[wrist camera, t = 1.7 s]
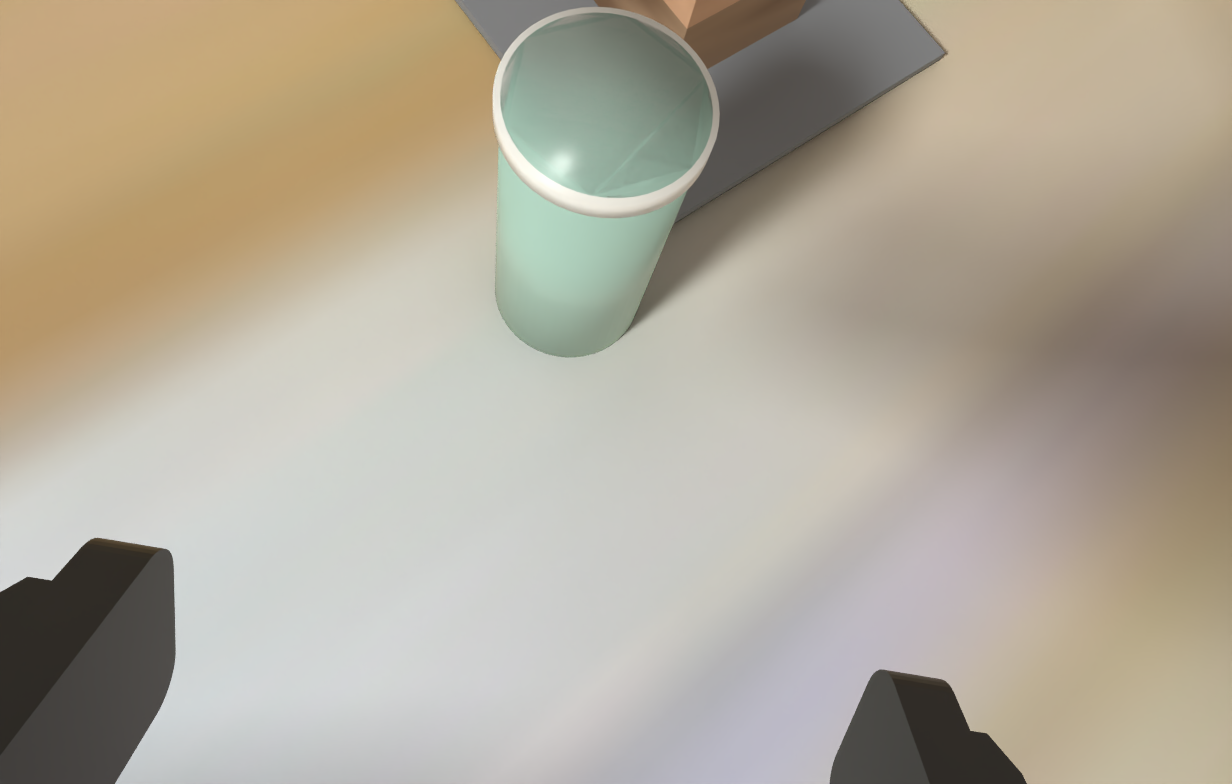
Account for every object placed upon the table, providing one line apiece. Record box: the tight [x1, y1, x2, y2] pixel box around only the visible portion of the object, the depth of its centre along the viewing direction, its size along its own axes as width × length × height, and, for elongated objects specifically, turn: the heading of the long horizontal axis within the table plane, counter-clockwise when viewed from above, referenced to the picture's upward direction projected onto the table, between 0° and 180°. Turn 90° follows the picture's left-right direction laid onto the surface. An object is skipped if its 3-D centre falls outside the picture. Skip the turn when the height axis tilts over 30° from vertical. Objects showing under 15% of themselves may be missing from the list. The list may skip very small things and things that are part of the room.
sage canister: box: [493, 7, 720, 357], centre depth 24 cm, size 5×5×10 cm
